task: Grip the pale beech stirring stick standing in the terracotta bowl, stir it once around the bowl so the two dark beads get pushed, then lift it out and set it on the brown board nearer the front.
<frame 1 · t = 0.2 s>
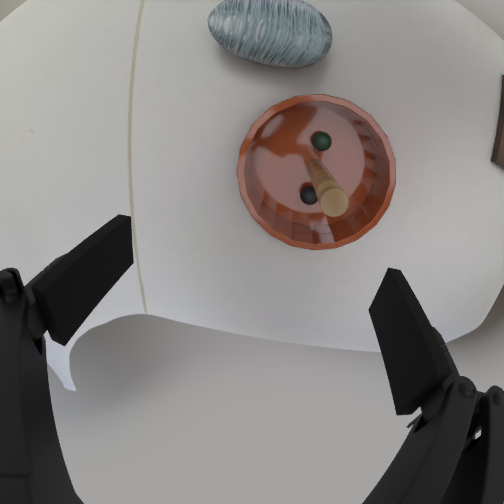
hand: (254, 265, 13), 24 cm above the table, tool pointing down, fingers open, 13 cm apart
bead b: (321, 141, 29), point 2 cm above the table, touching bowl
blue yarn skein: (272, 38, 25), on the table
stick: (314, 167, 32), point 1 cm above the table, touching bowl
bowl: (314, 166, 33), on the table
bead a: (309, 195, 33), point 2 cm above the table, touching bowl
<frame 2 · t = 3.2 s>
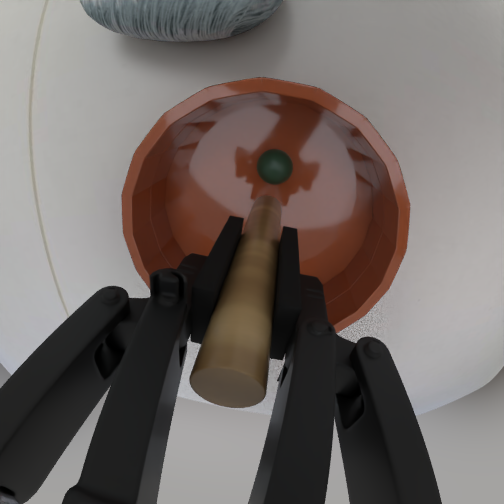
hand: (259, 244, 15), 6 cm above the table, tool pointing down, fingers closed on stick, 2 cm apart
bead b: (274, 166, 17), point 2 cm above the table, touching bowl
blue yarn skein: (197, 2, 13), on the table
stick: (266, 209, 20), point 1 cm above the table, touching bowl, gripper
bowl: (267, 206, 21), on the table
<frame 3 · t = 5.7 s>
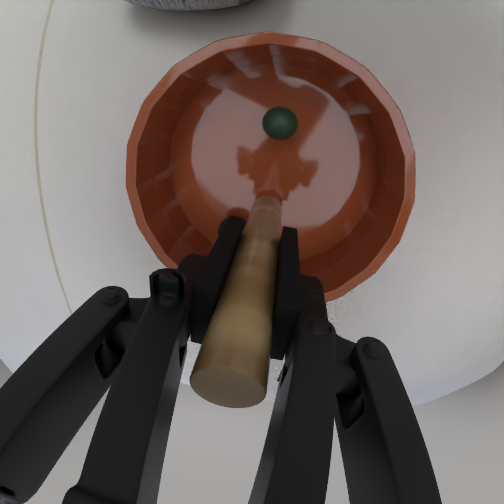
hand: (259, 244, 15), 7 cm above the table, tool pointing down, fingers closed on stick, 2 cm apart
bead b: (280, 123, 17), point 2 cm above the table, touching bowl
stick: (267, 209, 20), point 1 cm above the table, touching gripper
bowl: (272, 167, 20), on the table
bead a: (233, 232, 21), point 2 cm above the table, tilted 123°, touching bowl
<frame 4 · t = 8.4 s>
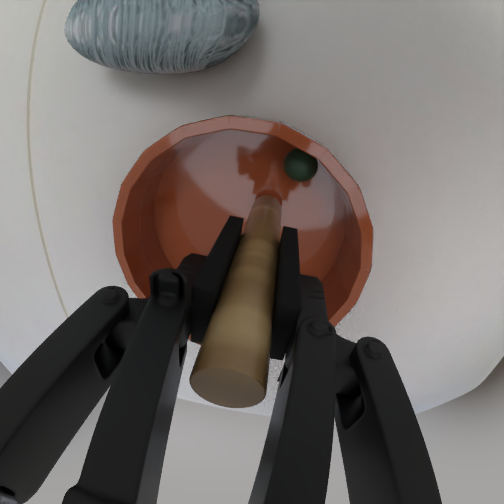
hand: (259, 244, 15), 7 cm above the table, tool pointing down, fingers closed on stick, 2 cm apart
bead b: (300, 164, 18), point 2 cm above the table, tilted 166°, touching bowl
blue yarn skein: (178, 29, 15), on the table
stick: (266, 209, 20), point 1 cm above the table, touching gripper
bowl: (246, 225, 22), on the table
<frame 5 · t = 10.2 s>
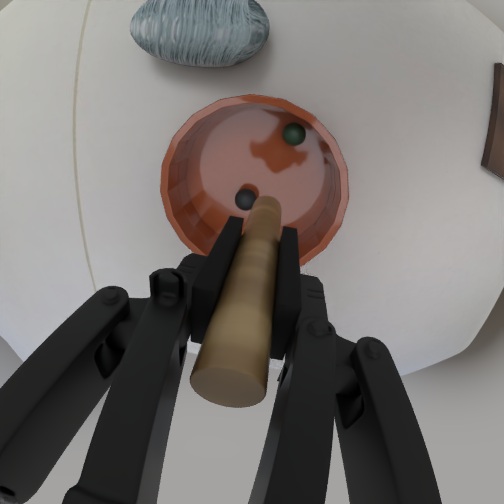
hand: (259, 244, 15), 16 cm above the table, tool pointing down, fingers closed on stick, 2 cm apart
bead b: (294, 134, 25), point 2 cm above the table, tilted 172°, touching bowl
blue yarn skein: (209, 36, 22), on the table
stick: (267, 209, 20), point 10 cm above the table, touching gripper
bowl: (257, 178, 29), on the table
bead a: (245, 199, 29), point 2 cm above the table, tilted 31°, touching bowl
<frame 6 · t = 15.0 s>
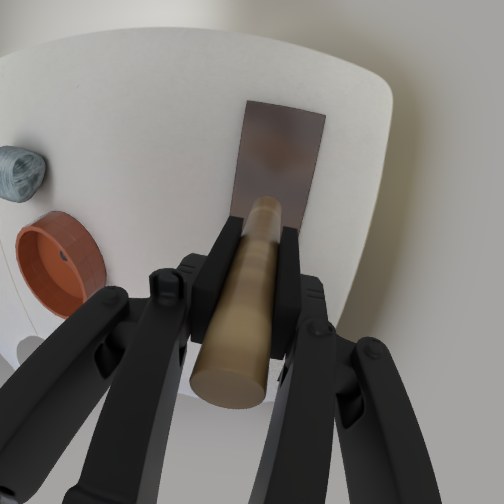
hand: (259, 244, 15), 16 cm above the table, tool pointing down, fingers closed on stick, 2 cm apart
blue yarn skein: (29, 166, 31), on the table
stick: (266, 210, 20), point 10 cm above the table, touching gripper
bowl: (67, 258, 39), on the table
bead a: (66, 253, 36), point 2 cm above the table, tilted 78°, touching bowl
brown board: (273, 177, 29), on the table
when the fingers open (7 cm above the table, at t = 17.2 s): stick stays where it is, resting on brown board.
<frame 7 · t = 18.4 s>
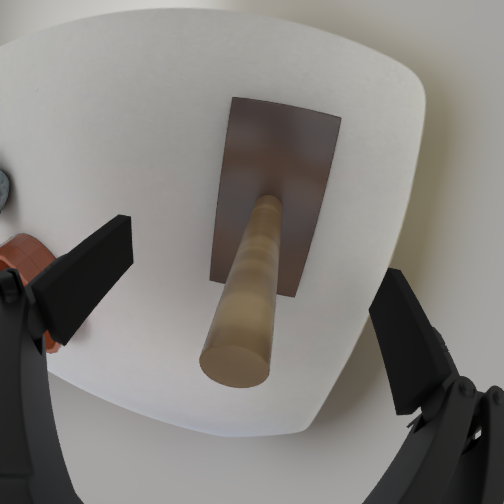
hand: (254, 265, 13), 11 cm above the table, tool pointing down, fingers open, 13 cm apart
stick: (268, 208, 21), point 1 cm above the table, touching brown board
bowl: (39, 285, 32), on the table
brown board: (269, 201, 22), on the table
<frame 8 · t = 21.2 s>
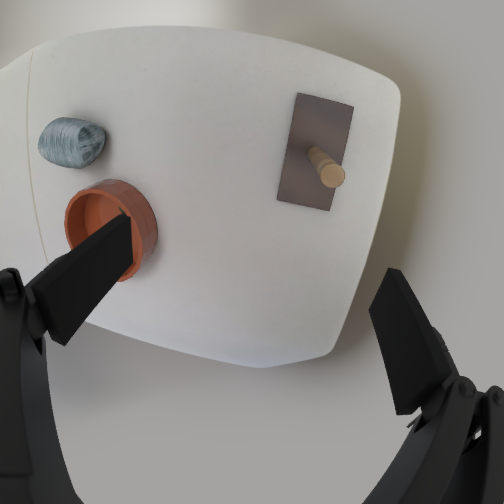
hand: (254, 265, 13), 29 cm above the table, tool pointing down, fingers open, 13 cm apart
bead b: (125, 206, 42), point 2 cm above the table, tilted 129°, touching bowl
blue yarn skein: (83, 138, 39), on the table
stick: (315, 153, 35), point 1 cm above the table, touching brown board
bowl: (116, 224, 46), on the table
brown board: (314, 151, 36), on the table
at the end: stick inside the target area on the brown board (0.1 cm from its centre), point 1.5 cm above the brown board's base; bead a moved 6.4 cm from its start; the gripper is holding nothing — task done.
